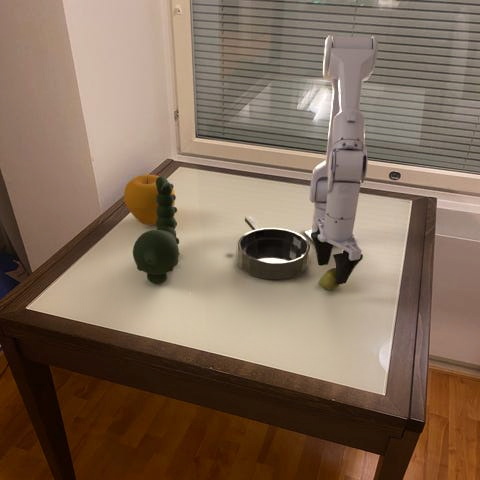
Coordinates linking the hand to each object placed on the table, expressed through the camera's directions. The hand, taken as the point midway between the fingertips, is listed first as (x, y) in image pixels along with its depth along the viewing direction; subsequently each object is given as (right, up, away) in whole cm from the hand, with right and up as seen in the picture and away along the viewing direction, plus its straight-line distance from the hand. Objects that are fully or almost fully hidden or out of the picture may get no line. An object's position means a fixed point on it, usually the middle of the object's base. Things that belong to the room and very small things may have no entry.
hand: (331, 273), depth 104 cm
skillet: (-12, +4, +11) cm, 16 cm away
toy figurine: (-36, +2, +9) cm, 38 cm away
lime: (0, -3, +2) cm, 4 cm away
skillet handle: (-16, +13, +17) cm, 26 cm away
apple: (-42, +16, +27) cm, 52 cm away
